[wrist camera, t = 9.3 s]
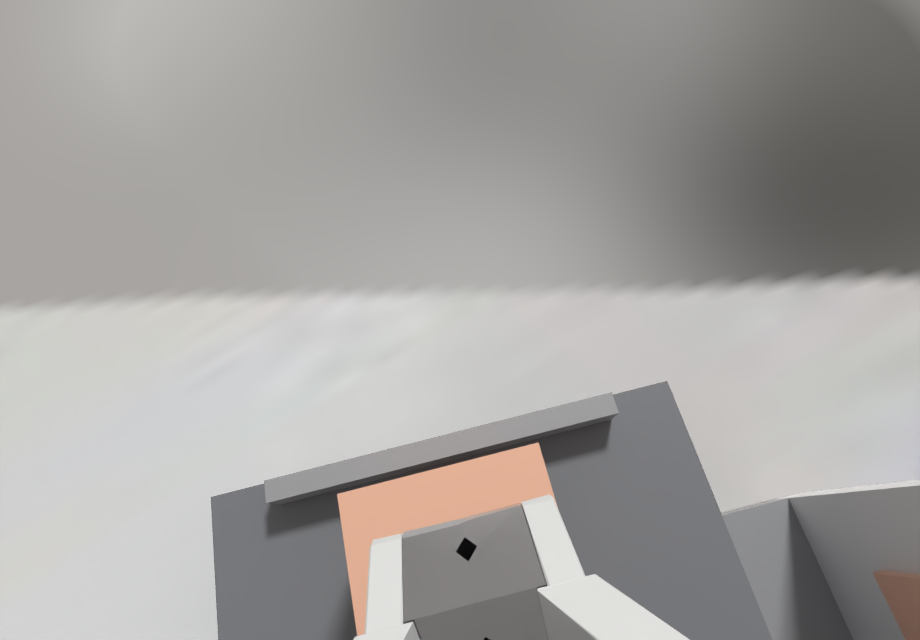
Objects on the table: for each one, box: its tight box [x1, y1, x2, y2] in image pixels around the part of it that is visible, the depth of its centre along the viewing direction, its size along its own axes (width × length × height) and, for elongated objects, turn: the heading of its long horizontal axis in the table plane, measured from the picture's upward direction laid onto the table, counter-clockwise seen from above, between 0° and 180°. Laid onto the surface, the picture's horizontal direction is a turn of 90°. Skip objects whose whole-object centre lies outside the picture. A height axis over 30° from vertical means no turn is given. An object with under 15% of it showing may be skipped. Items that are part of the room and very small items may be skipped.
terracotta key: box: [337, 442, 558, 636], centre depth 12 cm, size 4×4×2 cm
